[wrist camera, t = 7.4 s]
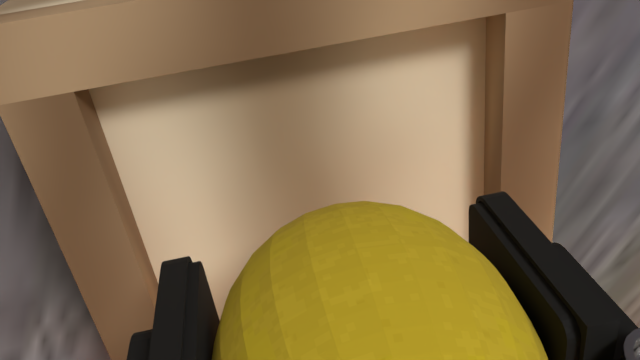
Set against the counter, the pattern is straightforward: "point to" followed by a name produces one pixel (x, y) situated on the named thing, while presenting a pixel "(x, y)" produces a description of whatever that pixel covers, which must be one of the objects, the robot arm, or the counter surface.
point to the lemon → (372, 293)
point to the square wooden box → (269, 124)
